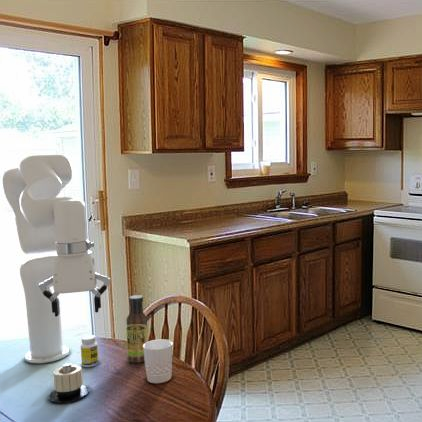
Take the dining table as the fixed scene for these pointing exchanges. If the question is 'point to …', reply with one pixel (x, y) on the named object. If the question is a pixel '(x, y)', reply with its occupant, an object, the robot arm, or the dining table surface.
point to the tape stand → (71, 395)
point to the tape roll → (68, 379)
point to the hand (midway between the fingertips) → (77, 313)
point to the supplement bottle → (89, 351)
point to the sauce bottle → (136, 330)
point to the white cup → (158, 360)
